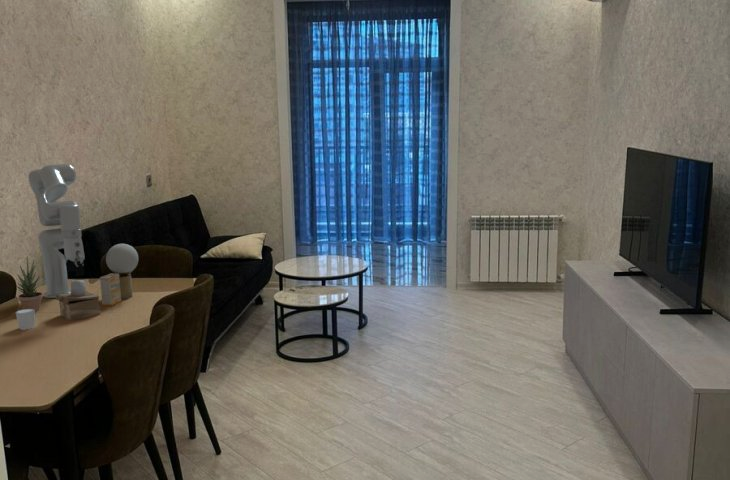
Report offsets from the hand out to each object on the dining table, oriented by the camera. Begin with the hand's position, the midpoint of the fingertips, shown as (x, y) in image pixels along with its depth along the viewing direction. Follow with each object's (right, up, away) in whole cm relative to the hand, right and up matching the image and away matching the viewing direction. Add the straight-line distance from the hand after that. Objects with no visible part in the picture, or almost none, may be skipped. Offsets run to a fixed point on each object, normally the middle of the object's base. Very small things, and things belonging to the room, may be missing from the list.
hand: (75, 273), depth 284 cm
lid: (0, -12, +1) cm, 12 cm away
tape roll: (+1, -9, +1) cm, 9 cm away
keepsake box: (+1, -18, +3) cm, 18 cm away
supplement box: (+8, -15, +19) cm, 26 cm away
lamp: (+10, -13, +30) cm, 34 cm away
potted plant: (-24, -17, +11) cm, 31 cm away
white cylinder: (-13, -21, -14) cm, 29 cm away
